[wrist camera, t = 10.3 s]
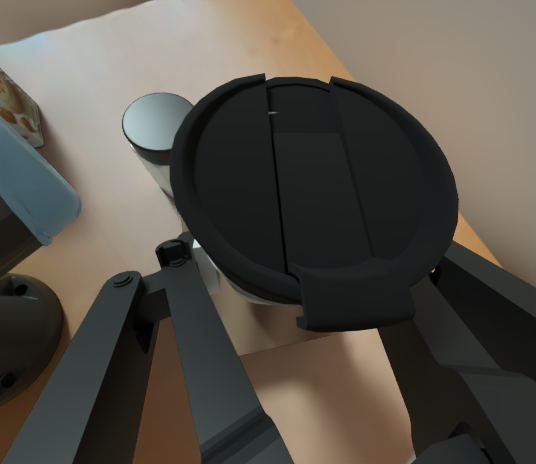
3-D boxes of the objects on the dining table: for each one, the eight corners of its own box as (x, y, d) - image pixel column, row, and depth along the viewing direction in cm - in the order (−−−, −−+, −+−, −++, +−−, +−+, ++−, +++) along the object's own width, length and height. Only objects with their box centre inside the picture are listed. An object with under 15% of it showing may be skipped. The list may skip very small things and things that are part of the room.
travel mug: (230, 309, 22) (130, 362, 3) (228, 244, 24) (164, 12, 5) (292, 304, 22) (553, 317, 3) (285, 242, 24) (430, 32, 5)
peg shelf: (202, 353, 28) (192, 366, 22) (192, 234, 33) (181, 220, 27) (320, 327, 30) (338, 333, 25) (296, 220, 35) (306, 204, 29)
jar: (206, 208, 34) (187, 162, 23) (153, 198, 34) (107, 146, 22) (219, 160, 37) (209, 97, 25) (171, 150, 36) (138, 82, 25)
